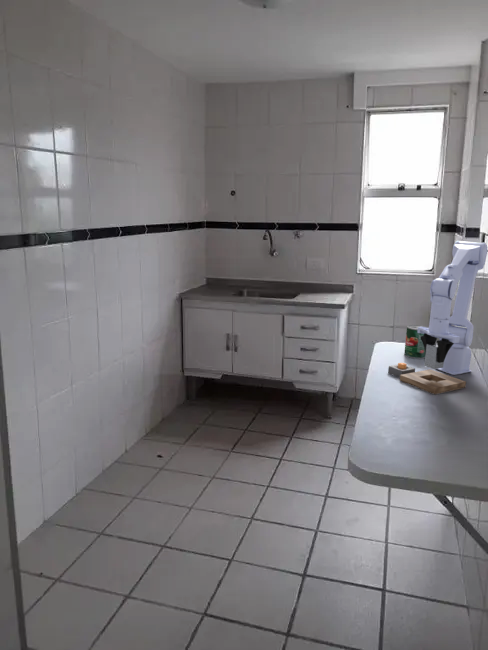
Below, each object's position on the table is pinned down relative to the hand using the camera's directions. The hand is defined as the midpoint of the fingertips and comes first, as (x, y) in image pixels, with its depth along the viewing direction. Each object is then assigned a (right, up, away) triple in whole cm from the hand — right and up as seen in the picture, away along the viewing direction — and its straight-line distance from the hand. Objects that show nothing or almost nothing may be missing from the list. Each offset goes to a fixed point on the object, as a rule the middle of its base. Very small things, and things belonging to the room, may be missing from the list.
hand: (434, 360), depth 173 cm
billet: (0, -2, 0) cm, 2 cm away
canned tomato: (+4, -1, +34) cm, 34 cm away
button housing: (-7, -5, +11) cm, 14 cm away
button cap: (-7, -4, +10) cm, 13 cm away
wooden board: (0, -8, +2) cm, 8 cm away
